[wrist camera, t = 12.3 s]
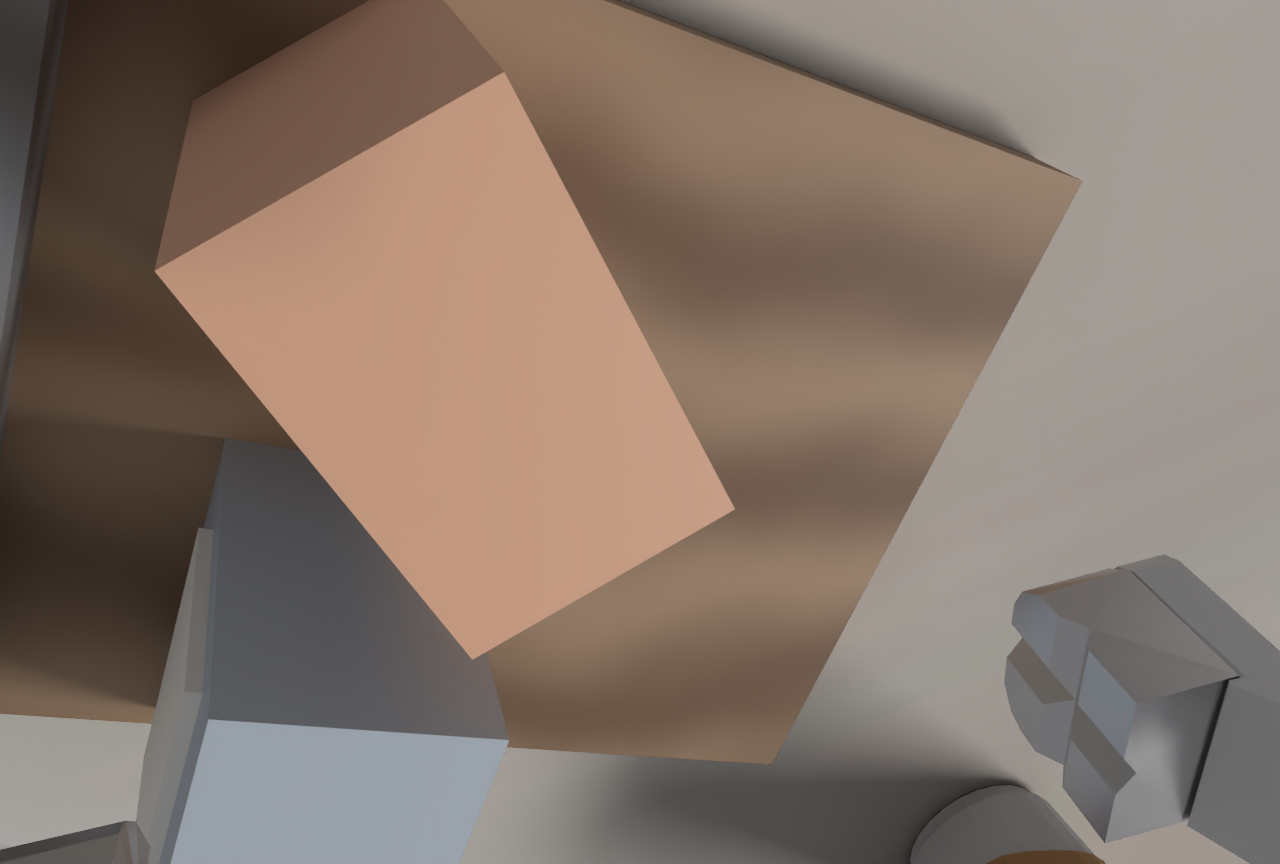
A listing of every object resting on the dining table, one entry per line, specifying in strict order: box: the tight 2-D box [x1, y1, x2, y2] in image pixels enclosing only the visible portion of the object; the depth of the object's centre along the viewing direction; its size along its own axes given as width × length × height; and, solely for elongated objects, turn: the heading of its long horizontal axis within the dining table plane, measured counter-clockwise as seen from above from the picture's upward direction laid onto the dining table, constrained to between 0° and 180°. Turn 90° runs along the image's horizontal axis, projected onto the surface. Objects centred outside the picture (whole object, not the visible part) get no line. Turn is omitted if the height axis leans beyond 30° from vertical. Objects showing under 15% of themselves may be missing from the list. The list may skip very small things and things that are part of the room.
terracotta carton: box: [154, 0, 735, 660], centre depth 20 cm, size 5×8×9 cm, turn 25°
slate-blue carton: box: [136, 438, 509, 864], centre depth 23 cm, size 5×8×9 cm, turn 158°
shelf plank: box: [0, 0, 1083, 765], centre depth 26 cm, size 20×24×4 cm
